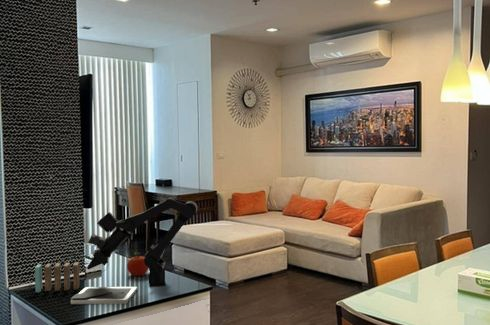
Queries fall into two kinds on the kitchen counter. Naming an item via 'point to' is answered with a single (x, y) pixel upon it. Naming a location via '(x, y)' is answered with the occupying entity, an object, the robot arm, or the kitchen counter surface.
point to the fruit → (137, 265)
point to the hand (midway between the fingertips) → (87, 268)
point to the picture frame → (104, 295)
